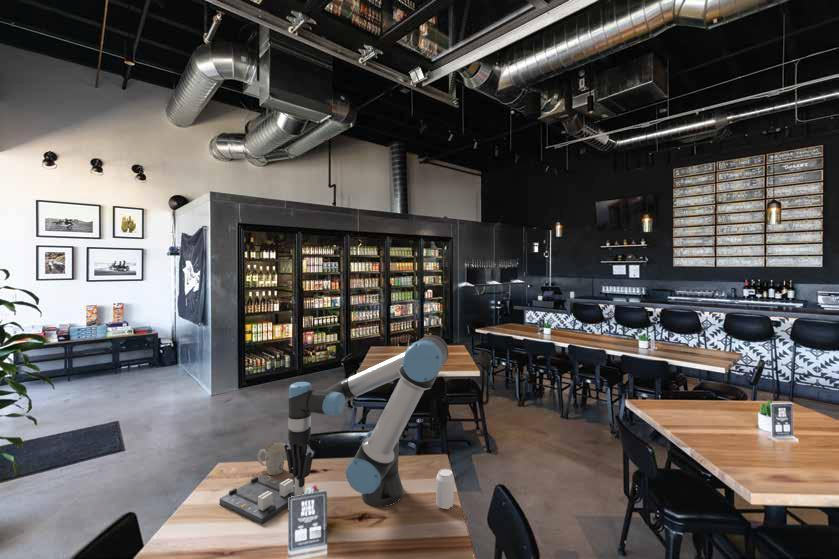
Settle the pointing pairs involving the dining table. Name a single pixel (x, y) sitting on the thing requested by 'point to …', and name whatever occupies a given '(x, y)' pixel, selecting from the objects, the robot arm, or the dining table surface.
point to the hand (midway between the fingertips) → (299, 494)
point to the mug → (273, 458)
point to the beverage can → (444, 488)
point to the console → (256, 499)
